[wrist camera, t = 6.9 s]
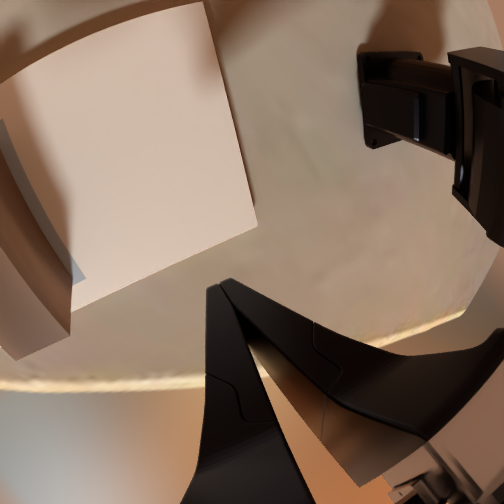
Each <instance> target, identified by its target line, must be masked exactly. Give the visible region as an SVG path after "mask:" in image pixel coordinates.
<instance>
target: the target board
mask: <svg viewBox="0 0 504 504" xmlns="http://www.w3.org/2000/svg"><path fill="white" fill-rule="evenodd" d="M0 149H1V151H2V153H3V156H4V158H5V160H6V163H7V165H8V167H9V169H10V171H11V173H12V176H13V178H14V180H15V182H16V184H17V186H18V188H19V190H20V192H21V194H22V196H23V198H24V199H25V201H26V203H27V205H28V207H29V209H30V211H31V212H32V214H33V216H34V218H35V220H36V221H37V223H38V225H39V227H40V228H41V230H42V232H43V233H44V235H45V237H46V238H47V240H48V242H49V243H50V245H51V246H52V248H53V250H54V251H55V253H56V254H57V256H58V257H59V259H60V260H61V262H62V263H63V265H64V266H65V268H66V269H67V271H68V272H69V274H70V275H71V277H72V278H73V284H72V298H71V312H73V311H75V310H77V309H79V308H81V307H84V306H86V305H88V304H90V303H92V302H94V301H96V300H98V299H100V298H102V297H104V296H107V295H109V294H111V293H113V292H115V291H117V290H119V289H121V288H123V287H126V286H128V285H130V284H132V283H134V282H136V281H138V280H140V279H143V278H145V277H147V276H149V275H151V274H153V273H155V272H158V271H160V270H162V269H164V268H166V267H168V266H171V265H173V264H175V263H177V262H179V261H182V260H184V259H186V258H188V257H190V256H193V255H195V254H197V253H199V252H201V251H204V250H206V249H208V248H210V247H212V246H215V245H217V244H219V243H221V242H224V241H226V240H228V239H230V238H233V237H235V236H237V235H239V234H242V233H244V232H246V231H248V230H251V229H253V228H255V227H257V226H258V224H257V220H256V216H255V211H254V207H253V203H252V199H251V194H250V190H249V186H248V182H247V178H246V173H245V169H244V165H243V161H242V157H241V153H240V148H239V144H238V140H237V136H236V132H235V128H234V124H233V120H232V116H231V112H230V108H229V103H228V99H227V95H226V91H225V87H224V83H223V79H222V75H221V71H220V67H219V63H218V59H217V55H216V51H215V48H214V44H213V40H212V36H211V32H210V28H209V24H208V20H207V16H206V12H205V9H204V5H203V1H202V2H196V3H192V4H187V5H182V6H178V7H174V8H170V9H166V10H162V11H158V12H155V13H151V14H148V15H144V16H141V17H138V18H135V19H132V20H128V21H126V22H123V23H120V24H117V25H114V26H112V27H109V28H106V29H104V30H101V31H99V32H96V33H94V34H91V35H89V36H87V37H84V38H82V39H80V40H78V41H75V42H73V43H71V44H69V45H67V46H65V47H63V48H61V49H59V50H57V51H55V52H53V53H51V54H49V55H47V56H45V57H44V58H42V59H40V60H38V61H36V62H35V63H33V64H31V65H29V66H28V67H26V68H24V69H23V70H21V71H19V72H18V73H16V74H15V75H13V76H12V77H10V78H8V79H7V80H5V81H4V82H2V83H1V84H0ZM0 348H1V346H0Z"/></svg>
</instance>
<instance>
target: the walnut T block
mask: <svg viewBox="0 0 504 504" xmlns="http://www.w3.org/2000/svg"><path fill="white" fill-rule="evenodd" d="M72 284H73V278H72V277H71V275H70V274H69V272H68V271H67V269H66V268H65V266H64V265H63V263H62V262H61V260H60V259H59V257H58V256H57V254H56V253H55V251H54V250H53V248H52V246H51V245H50V243H49V242H48V240H47V238H46V237H45V235H44V233H43V232H42V230H41V228H40V227H39V225H38V223H37V221H36V220H35V218H34V216H33V214H32V212H31V211H30V209H29V207H28V205H27V203H26V201H25V199H24V198H23V196H22V194H21V192H20V190H19V188H18V186H17V184H16V182H15V180H14V178H13V176H12V173H11V171H10V169H9V167H8V165H7V163H6V160H5V158H4V156H3V153H2V151H1V149H0V346H1V347H2V348H3V349H4V350H5V351H6V352H7V353H8V354H9V355H10V356H11V357H12V358H13V359H14V360H15V361H17V360H19V359H21V358H23V357H25V356H27V355H30V354H32V353H34V352H36V351H38V350H40V349H43V348H45V347H47V346H49V345H51V344H53V343H56V342H58V341H60V340H62V339H64V338H66V337H69V336H70V320H71V298H72Z"/></svg>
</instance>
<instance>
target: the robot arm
mask: <svg viewBox="0 0 504 504" xmlns="http://www.w3.org/2000/svg"><path fill="white" fill-rule="evenodd" d="M447 55H448V62H449V63H450V65H451V66H447V65H442V64H437V63H432V62H426V61H423V56H422V54H421V53H420V52H408V51H383V52H362V53H360V54H359V55H358V66H359V74H360V83H361V92H362V103H363V115H364V130H365V144H366V146H367V147H369V148H371V149H376V148H379V147H382V146H385V145H388V144H391V143H395V142H398V141H401V140H405V141H407V142H410V143H412V144H415V145H417V146H420V147H422V148H425V149H427V150H430V151H432V152H434V153H437V154H439V155H441V156H443V157H446V158H448V159H450V160H452V161H454V162H455V173H454V184H453V186H452V195H453V196H454V197H455V198H456V199H457V200H458V201H459V202H460V203H461V204H462V205H463V206H464V207H465V208H466V209H467V210H468V211H469V212H470V214H471V215H472V216H473V217H474V218H475V219H476V220H477V221H478V222H479V223H480V225H481V226H482V227H483V228H484V229H485V230H486V235H487V237H488V238H489V239H490V240H492V241H493V242H495V243H496V244H498V245H499V246H501V247H503V248H504V51H501V50H496V49H491V48H485V47H475V48H469V49H463V50H458V51H452V52H448V53H447ZM365 58H366V61H365ZM372 140H373V142H372ZM249 348H250V349H251V351H252V352H253V353H254V355H255V356H256V358H257V359H258V360H259V362H260V363H261V364H262V366H263V367H264V369H265V370H266V371H267V373H268V374H269V375H270V377H271V378H272V379H273V381H274V382H275V383H276V385H277V386H278V387H279V389H280V390H281V391H282V393H283V394H284V395H285V396H286V398H287V399H288V401H289V402H290V403H291V405H292V406H293V407H294V409H295V410H296V411H297V412H298V414H299V415H300V416H301V418H302V419H303V420H304V421H305V423H306V424H307V425H308V426H309V428H310V429H311V430H312V431H313V433H314V434H315V435H316V436H317V438H318V439H319V440H320V441H321V443H322V444H323V445H324V446H325V448H326V449H327V450H328V451H329V453H330V454H331V455H332V456H333V457H334V458H335V460H336V461H337V462H338V463H339V465H340V466H341V467H342V468H343V469H344V470H345V472H346V473H347V474H348V475H349V476H350V477H351V479H352V480H353V481H354V482H355V483H356V484H357V486H359V487H361V486H363V485H365V484H367V483H368V482H370V481H371V480H373V479H375V478H377V477H378V476H380V475H382V476H383V478H384V479H385V480H386V481H387V483H388V484H389V486H390V487H391V488H392V489H393V490H392V491H390V492H389V493H388V495H389V496H390V498H391V499H392V500H393V502H394V503H395V504H446V503H447V502H448V504H504V328H497V329H495V330H494V331H493V332H492V334H491V335H490V336H489V337H488V338H487V339H486V341H484V342H483V343H482V344H480V345H478V346H476V347H473V348H470V349H465V350H458V351H451V352H444V353H436V354H426V355H417V356H406V355H399V354H394V353H391V352H388V351H385V350H382V349H379V348H376V347H373V346H370V345H368V344H365V343H362V342H359V341H356V340H354V339H351V338H348V337H346V336H343V335H341V334H338V333H336V332H334V331H332V330H330V329H328V328H326V327H323V326H322V325H320V324H318V323H316V322H314V323H313V321H312V320H310V319H308V318H306V317H304V316H302V315H300V314H298V313H296V312H294V311H292V310H291V309H289V308H287V307H285V306H283V305H281V304H279V303H277V302H275V301H273V300H272V299H270V298H268V297H266V296H264V295H262V294H260V293H258V292H257V291H255V290H253V289H251V288H249V287H247V286H245V285H244V284H242V283H240V282H238V281H236V280H234V279H233V278H228V279H226V280H224V281H221V282H220V284H215V285H212V286H210V287H208V288H207V289H206V333H205V374H206V376H205V406H204V418H203V424H202V432H201V440H200V448H199V456H198V462H197V466H196V470H195V473H194V476H193V478H192V480H191V482H190V485H189V487H188V488H187V491H186V493H185V495H184V497H183V499H182V501H181V503H180V504H316V503H315V501H314V498H313V497H312V494H311V492H310V490H309V488H308V486H307V484H306V482H305V480H304V478H303V476H302V473H301V472H300V469H299V467H298V465H297V463H296V461H295V458H294V456H293V454H292V452H291V450H290V447H289V445H288V443H287V441H286V439H285V436H284V434H283V432H282V429H281V427H280V424H279V422H278V420H277V417H276V415H275V412H274V410H273V407H272V405H271V402H270V400H269V397H268V395H267V392H266V390H265V387H264V385H263V382H262V380H261V377H260V375H259V372H258V369H257V367H256V364H255V362H254V359H253V357H252V354H251V351H250V349H249Z"/></svg>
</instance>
